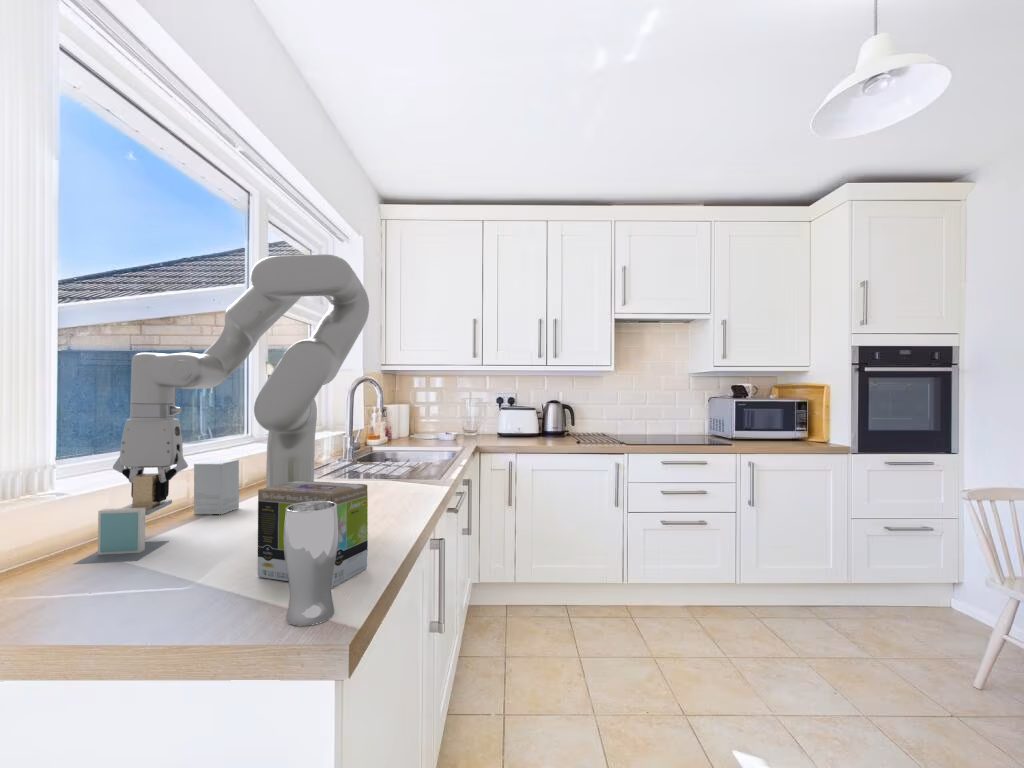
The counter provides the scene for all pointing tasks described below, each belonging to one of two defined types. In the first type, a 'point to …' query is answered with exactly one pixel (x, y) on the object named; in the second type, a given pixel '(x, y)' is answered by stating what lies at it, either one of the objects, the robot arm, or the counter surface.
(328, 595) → the beer glass
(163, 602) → the counter surface
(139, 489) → the trowel
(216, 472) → the supplement box
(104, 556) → the mat
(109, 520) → the tile
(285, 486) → the tea box
